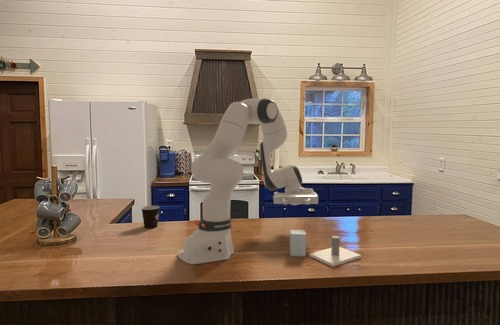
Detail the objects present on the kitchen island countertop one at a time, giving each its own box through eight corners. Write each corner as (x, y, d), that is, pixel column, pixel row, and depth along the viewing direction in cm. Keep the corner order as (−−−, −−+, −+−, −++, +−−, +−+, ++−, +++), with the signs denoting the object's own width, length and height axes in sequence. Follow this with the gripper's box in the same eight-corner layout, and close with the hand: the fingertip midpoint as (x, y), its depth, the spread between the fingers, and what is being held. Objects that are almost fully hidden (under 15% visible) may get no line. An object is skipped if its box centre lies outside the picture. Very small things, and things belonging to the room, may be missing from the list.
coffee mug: (149, 230, 168) (148, 210, 167) (138, 227, 173) (138, 207, 172) (167, 225, 177) (167, 206, 176) (157, 222, 182) (156, 203, 181)
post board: (332, 266, 125) (333, 245, 125) (309, 256, 135) (310, 236, 134) (360, 257, 134) (361, 237, 133) (337, 248, 144) (338, 229, 143)
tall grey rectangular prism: (290, 256, 136) (291, 234, 135) (289, 250, 141) (290, 229, 140) (305, 256, 135) (305, 234, 134) (303, 251, 141) (304, 230, 140)
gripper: (272, 189, 163) (272, 196, 149) (316, 188, 161) (319, 195, 147) (273, 201, 164) (272, 209, 150) (316, 201, 162) (319, 209, 148)
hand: (296, 202), depth 149 cm, fingers open, 8 cm apart
